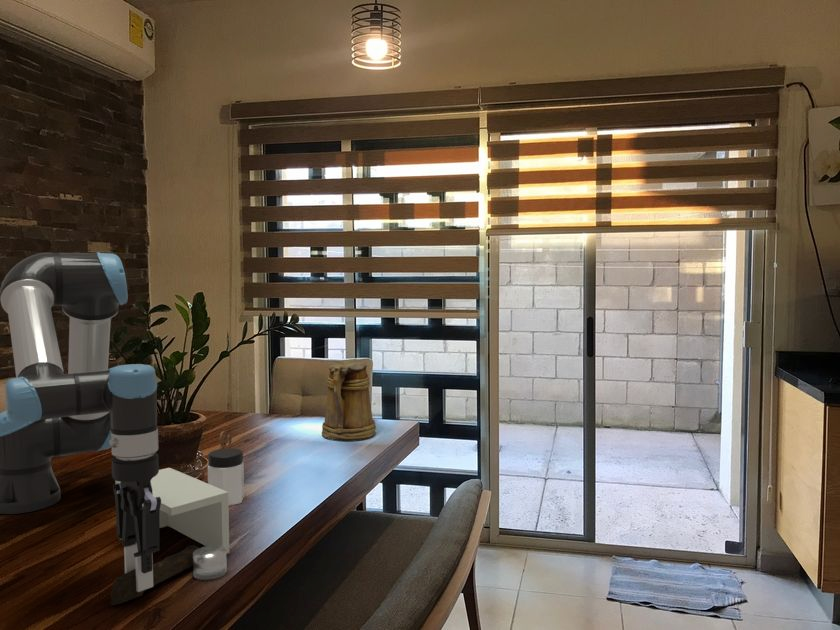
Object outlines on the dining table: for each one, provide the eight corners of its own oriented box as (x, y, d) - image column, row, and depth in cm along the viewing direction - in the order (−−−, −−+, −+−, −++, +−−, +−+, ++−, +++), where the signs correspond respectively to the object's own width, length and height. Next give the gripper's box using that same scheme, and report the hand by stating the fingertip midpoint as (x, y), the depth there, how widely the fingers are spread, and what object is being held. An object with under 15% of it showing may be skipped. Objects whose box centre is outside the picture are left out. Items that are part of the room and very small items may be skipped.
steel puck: (187, 572, 129) (186, 552, 129) (216, 562, 133) (215, 542, 133) (203, 583, 125) (203, 561, 125) (232, 572, 129) (232, 551, 129)
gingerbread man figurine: (222, 479, 184) (221, 435, 183) (209, 478, 185) (208, 435, 184) (238, 470, 192) (237, 427, 192) (225, 469, 193) (224, 427, 192)
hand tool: (188, 562, 133) (188, 539, 133) (203, 566, 131) (202, 543, 131) (101, 604, 117) (100, 578, 117) (116, 610, 115) (115, 583, 115)
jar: (252, 498, 170) (251, 450, 169) (230, 508, 162) (229, 459, 161) (223, 493, 173) (222, 446, 172) (200, 503, 166) (199, 454, 165)
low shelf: (117, 537, 145) (115, 480, 144) (170, 522, 154) (169, 467, 153) (173, 572, 129) (171, 508, 128) (229, 552, 138) (228, 492, 137)
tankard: (380, 428, 240) (380, 358, 238) (365, 446, 216) (365, 368, 214) (330, 427, 242) (329, 357, 240) (310, 444, 219) (309, 367, 217)
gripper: (92, 449, 122) (97, 577, 124) (135, 469, 111) (140, 609, 112) (134, 441, 127) (138, 563, 129) (179, 459, 116) (182, 592, 118)
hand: (139, 584), depth 121 cm, fingers closed on hand tool, 4 cm apart
